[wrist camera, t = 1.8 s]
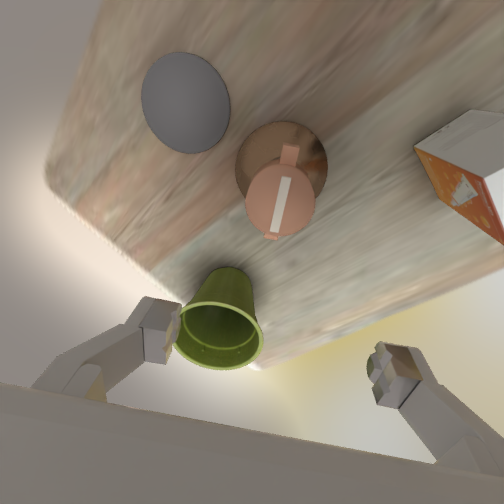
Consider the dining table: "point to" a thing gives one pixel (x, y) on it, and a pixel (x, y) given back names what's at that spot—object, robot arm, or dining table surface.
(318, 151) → the brown wide round part
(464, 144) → the small box
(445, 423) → the robot arm
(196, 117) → the pad
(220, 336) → the plant pot
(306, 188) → the cap
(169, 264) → the dining table surface
